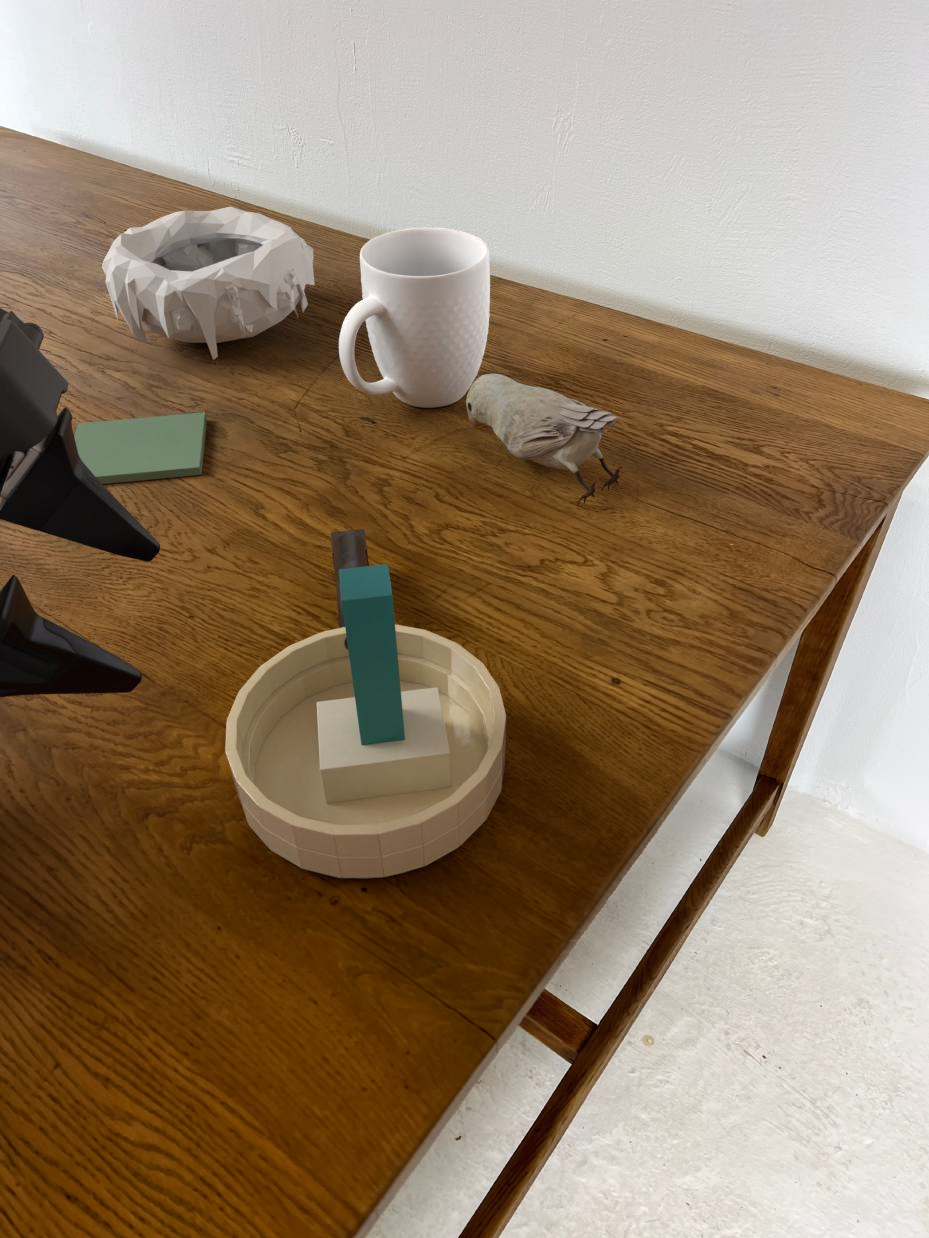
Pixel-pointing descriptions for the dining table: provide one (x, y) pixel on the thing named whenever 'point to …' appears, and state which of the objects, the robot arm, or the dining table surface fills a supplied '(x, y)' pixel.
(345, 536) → the pan handle
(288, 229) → the bowl
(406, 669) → the pan
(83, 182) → the dining table surface
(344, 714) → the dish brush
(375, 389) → the mug
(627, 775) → the dining table surface
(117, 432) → the mat
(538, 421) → the decorative bird
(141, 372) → the dining table surface
